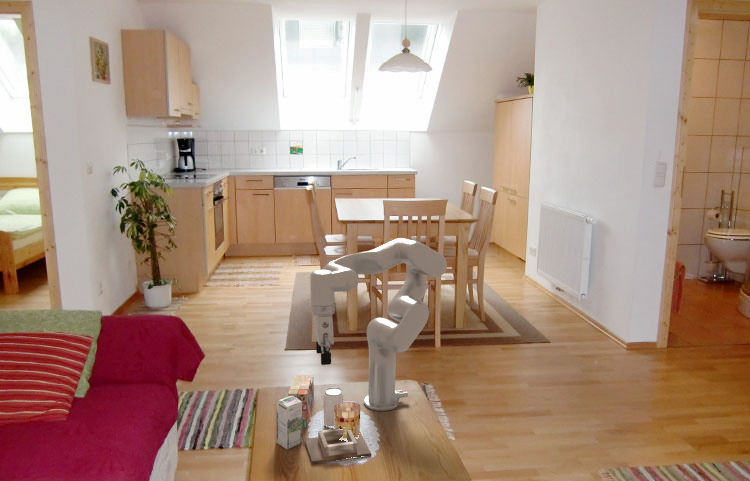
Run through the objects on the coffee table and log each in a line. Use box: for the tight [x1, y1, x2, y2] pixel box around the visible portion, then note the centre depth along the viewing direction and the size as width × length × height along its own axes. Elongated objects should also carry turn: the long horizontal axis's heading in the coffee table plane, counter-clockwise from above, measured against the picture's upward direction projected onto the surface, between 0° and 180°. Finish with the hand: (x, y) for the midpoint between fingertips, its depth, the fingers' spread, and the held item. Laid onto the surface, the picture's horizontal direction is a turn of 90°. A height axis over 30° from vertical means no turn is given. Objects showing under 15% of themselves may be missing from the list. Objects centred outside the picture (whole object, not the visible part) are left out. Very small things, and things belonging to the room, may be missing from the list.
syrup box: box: [276, 396, 303, 451], centre depth 180 cm, size 6×6×14 cm
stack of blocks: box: [287, 374, 315, 429], centre depth 200 cm, size 21×6×12 cm, turn 0°
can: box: [323, 386, 344, 426], centre depth 192 cm, size 6×6×12 cm
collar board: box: [304, 427, 372, 465], centre depth 178 cm, size 18×13×4 cm
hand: (323, 358), depth 190 cm, fingers open, 9 cm apart
